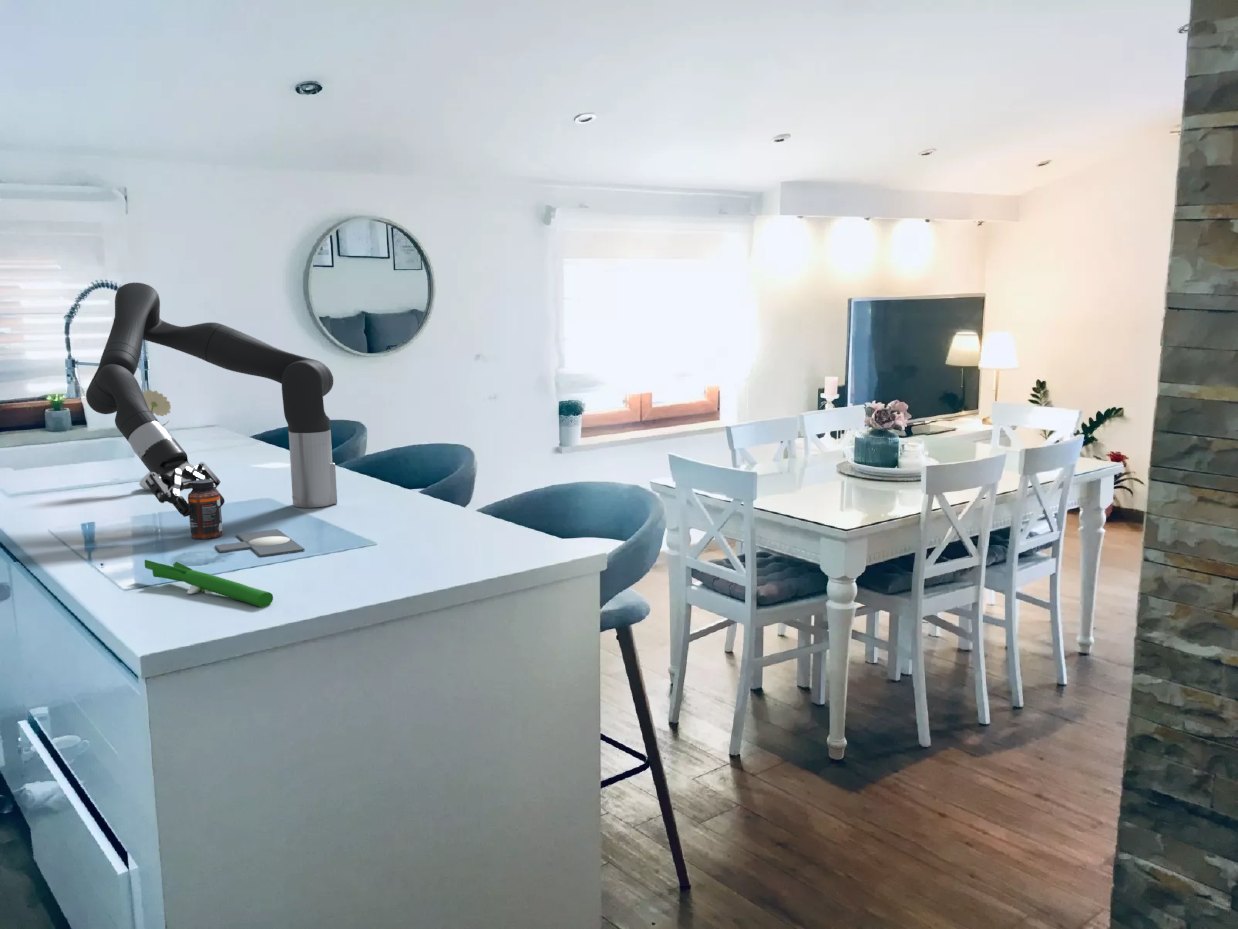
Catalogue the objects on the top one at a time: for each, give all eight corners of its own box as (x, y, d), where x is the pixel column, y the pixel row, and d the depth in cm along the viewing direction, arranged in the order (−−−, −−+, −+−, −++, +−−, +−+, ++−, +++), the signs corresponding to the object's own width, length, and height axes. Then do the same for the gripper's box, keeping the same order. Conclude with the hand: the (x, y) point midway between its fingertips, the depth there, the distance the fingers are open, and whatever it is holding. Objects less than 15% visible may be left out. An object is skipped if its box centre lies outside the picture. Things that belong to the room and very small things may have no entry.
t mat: (277, 530, 202) (277, 528, 202) (304, 550, 185) (304, 548, 185) (207, 539, 195) (207, 537, 195) (229, 561, 178) (229, 558, 178)
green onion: (276, 608, 153) (158, 572, 169) (275, 588, 153) (157, 553, 168) (249, 617, 149) (131, 579, 165) (248, 597, 149) (130, 560, 164)
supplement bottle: (229, 534, 199) (225, 479, 197) (206, 541, 194) (201, 484, 192) (207, 532, 201) (203, 477, 200) (184, 538, 196) (179, 482, 194)
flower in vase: (198, 487, 251) (191, 389, 247) (157, 494, 241) (148, 392, 237) (168, 482, 258) (160, 387, 254) (126, 489, 248) (117, 390, 244)
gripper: (176, 456, 207) (222, 514, 204) (119, 466, 194) (167, 529, 191) (194, 432, 204) (241, 491, 202) (137, 441, 191) (186, 504, 189)
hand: (205, 509), depth 196 cm, fingers open, 8 cm apart
